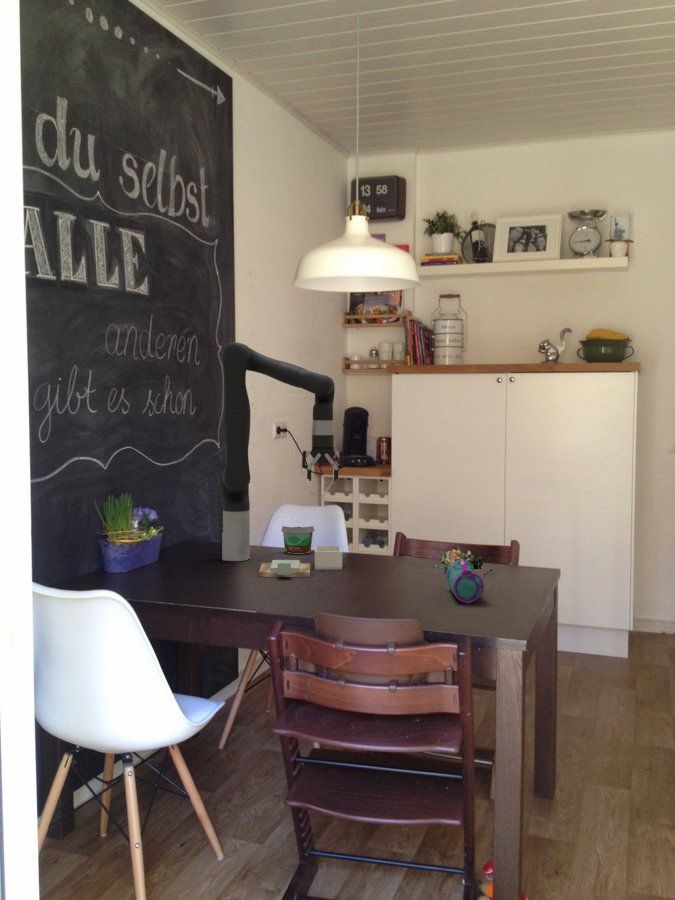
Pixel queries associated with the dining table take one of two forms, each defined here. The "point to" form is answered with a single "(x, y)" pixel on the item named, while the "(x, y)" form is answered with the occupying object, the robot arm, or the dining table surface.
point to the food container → (297, 539)
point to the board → (303, 572)
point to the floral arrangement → (457, 555)
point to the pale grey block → (285, 566)
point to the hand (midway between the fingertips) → (322, 480)
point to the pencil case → (464, 581)
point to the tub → (328, 558)
